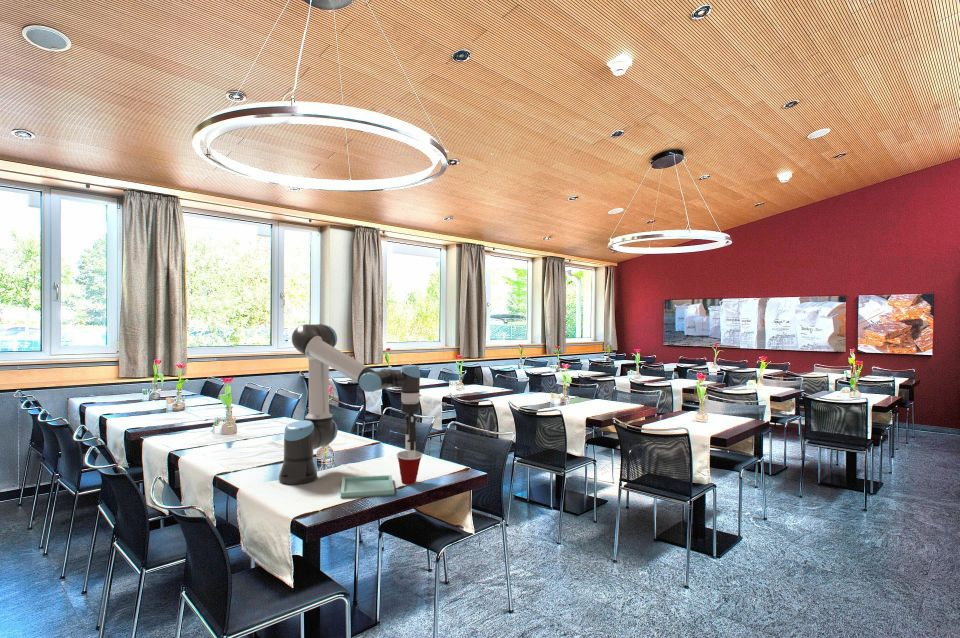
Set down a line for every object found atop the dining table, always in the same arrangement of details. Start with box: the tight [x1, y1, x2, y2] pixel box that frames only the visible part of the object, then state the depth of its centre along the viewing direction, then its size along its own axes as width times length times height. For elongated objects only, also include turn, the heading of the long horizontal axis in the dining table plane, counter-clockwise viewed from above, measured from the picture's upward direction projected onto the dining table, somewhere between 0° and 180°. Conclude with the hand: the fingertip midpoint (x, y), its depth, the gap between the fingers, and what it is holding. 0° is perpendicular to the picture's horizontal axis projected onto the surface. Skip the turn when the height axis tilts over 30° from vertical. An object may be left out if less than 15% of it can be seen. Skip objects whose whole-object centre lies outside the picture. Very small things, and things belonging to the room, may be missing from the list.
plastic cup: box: [396, 450, 423, 485], centre depth 219 cm, size 11×11×12 cm
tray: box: [340, 474, 395, 499], centre depth 210 cm, size 20×20×2 cm
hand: (410, 453), depth 219 cm, fingers open, 13 cm apart
